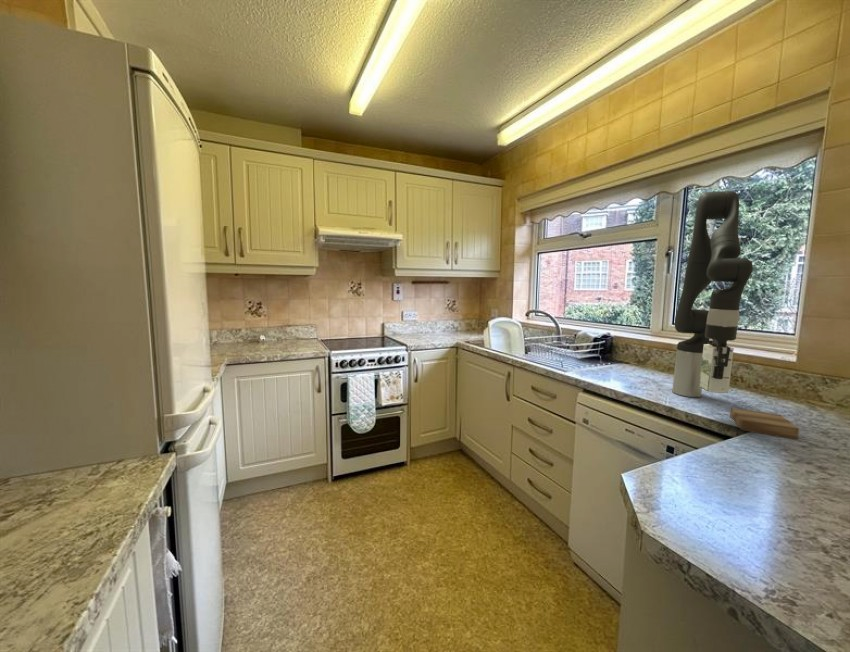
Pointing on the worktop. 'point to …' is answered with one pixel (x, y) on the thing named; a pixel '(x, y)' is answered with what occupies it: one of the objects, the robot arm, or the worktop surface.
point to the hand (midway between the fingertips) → (714, 375)
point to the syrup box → (707, 371)
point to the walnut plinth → (764, 423)
